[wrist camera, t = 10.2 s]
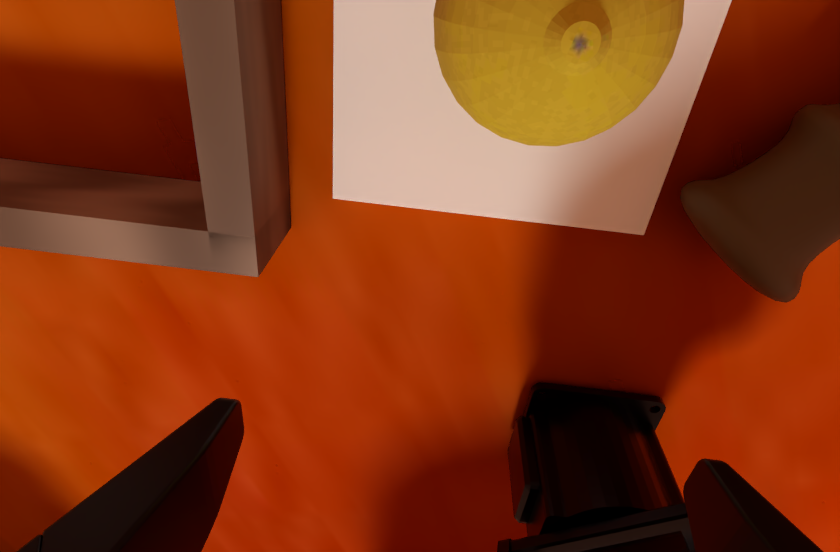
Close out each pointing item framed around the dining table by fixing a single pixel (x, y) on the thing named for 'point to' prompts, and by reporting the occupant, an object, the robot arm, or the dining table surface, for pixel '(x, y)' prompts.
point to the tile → (484, 150)
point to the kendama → (775, 205)
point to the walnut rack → (175, 198)
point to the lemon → (554, 62)
